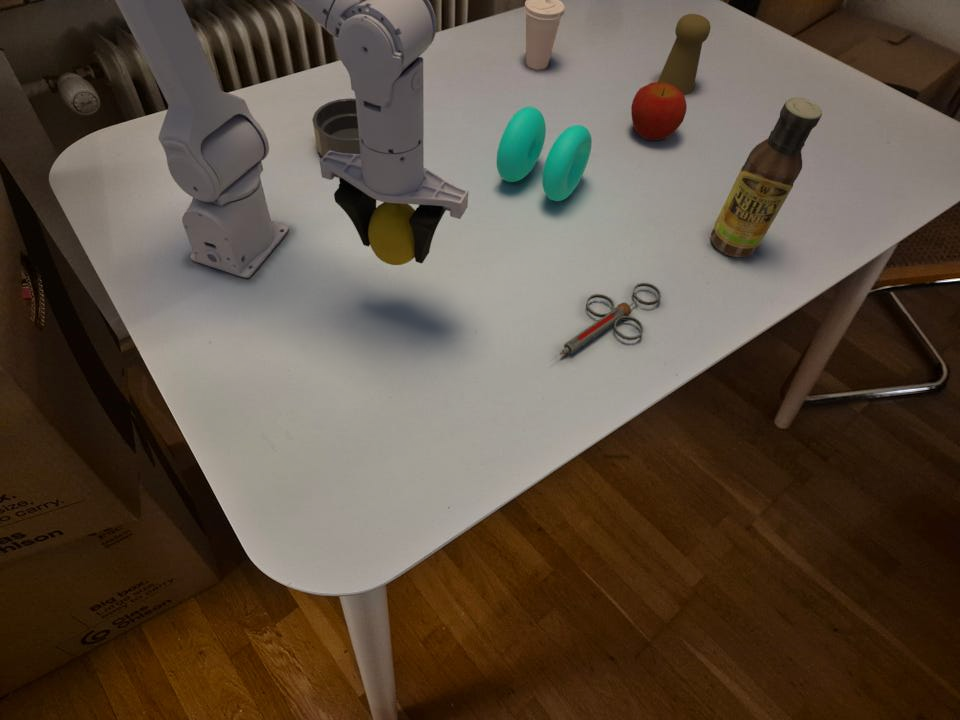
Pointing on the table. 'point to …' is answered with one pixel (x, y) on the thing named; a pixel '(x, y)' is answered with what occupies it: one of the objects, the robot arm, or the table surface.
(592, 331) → the syringe
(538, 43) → the smoothie
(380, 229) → the lemon
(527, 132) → the donuts
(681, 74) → the pawn
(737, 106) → the table surface
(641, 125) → the apple
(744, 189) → the sauce bottle
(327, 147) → the bowl
